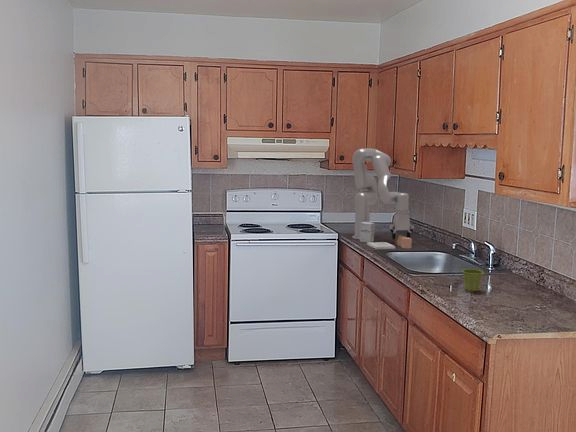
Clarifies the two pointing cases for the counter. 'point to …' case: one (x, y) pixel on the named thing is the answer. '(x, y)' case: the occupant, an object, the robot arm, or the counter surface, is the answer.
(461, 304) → the counter surface
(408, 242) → the terracotta block
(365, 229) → the supplement box
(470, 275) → the plant pot
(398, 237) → the oak block
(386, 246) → the baseplate
